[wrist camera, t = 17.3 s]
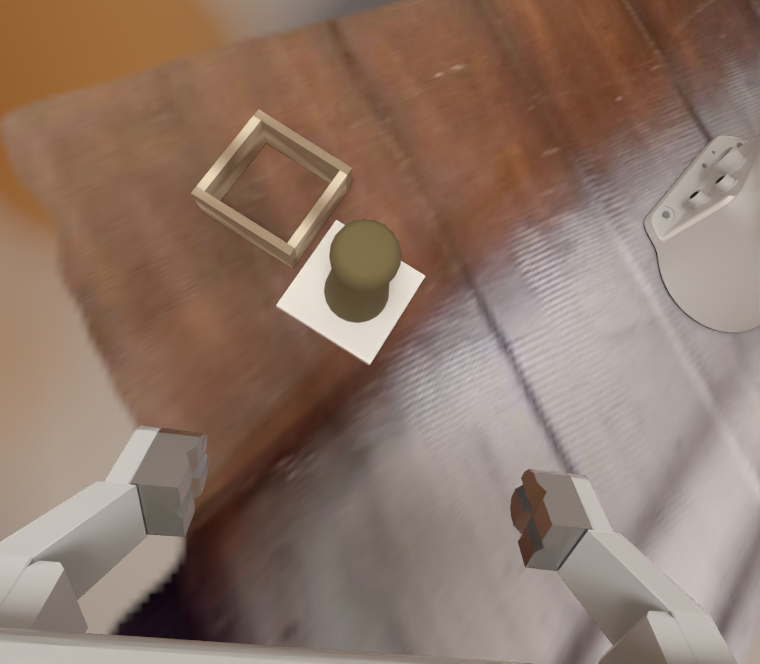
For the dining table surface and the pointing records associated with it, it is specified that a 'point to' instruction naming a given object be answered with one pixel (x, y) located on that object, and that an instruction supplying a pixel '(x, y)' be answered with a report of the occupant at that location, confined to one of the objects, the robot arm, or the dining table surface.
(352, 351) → the ceramic tile
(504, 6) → the dining table surface
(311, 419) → the dining table surface
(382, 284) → the cork
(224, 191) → the frame
